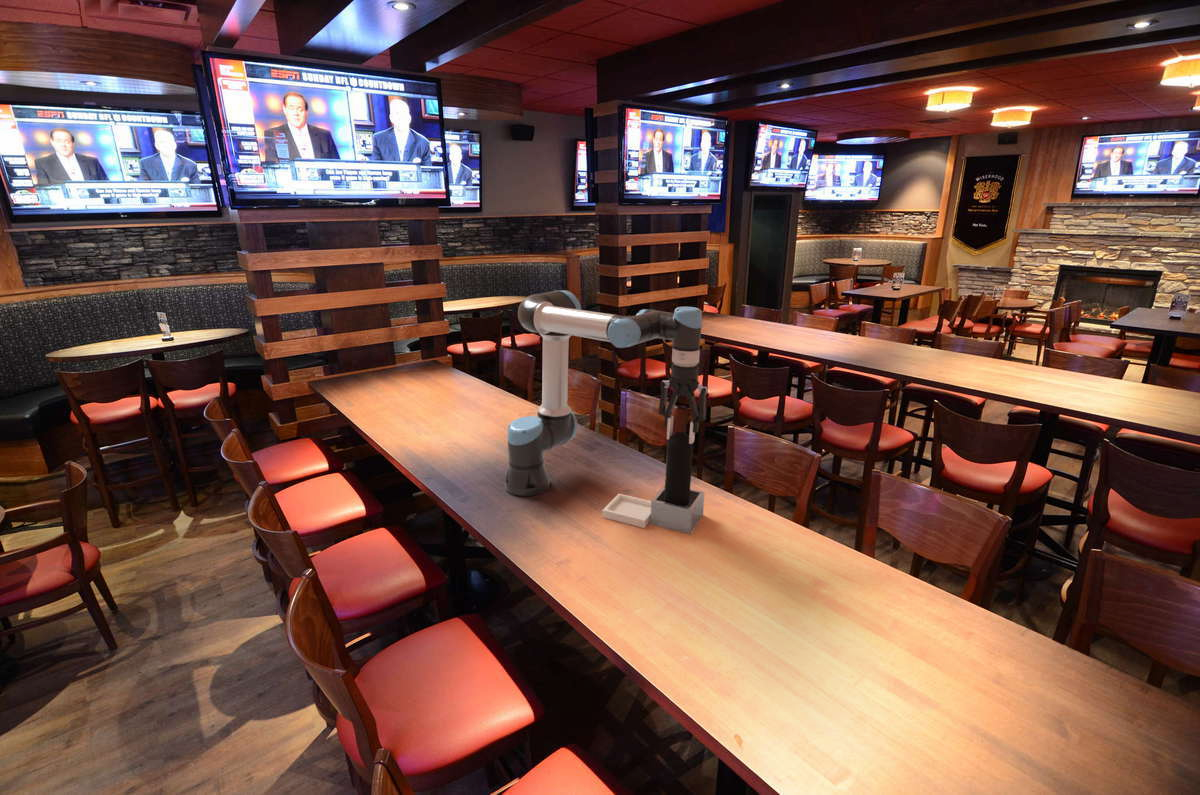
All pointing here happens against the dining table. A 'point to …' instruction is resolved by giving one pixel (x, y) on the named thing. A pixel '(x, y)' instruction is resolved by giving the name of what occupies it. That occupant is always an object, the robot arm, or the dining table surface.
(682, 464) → the wine bottle
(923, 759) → the dining table surface
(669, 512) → the holder
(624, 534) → the dining table surface
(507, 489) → the robot arm
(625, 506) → the tray
